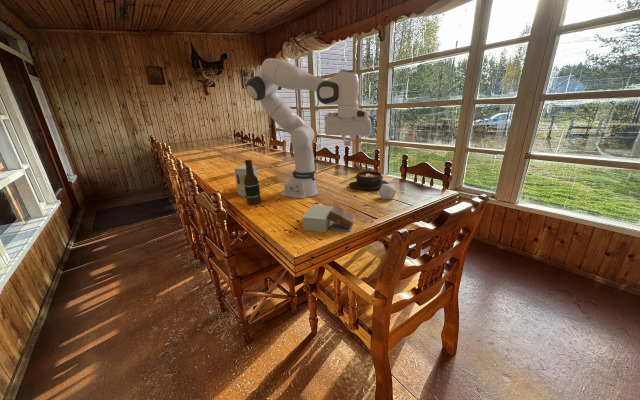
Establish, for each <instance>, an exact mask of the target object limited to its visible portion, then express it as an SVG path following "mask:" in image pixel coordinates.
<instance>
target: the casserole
mask: <svg viewBox="0 0 640 400" xmlns="http://www.w3.org/2000/svg"><path fill="white" fill-rule="evenodd" d="M354 177H355V179H356V181H352V182H349V183H348V185H349V187H351V188H353V189H362V190H375V189H380V188H381V186H382V184H390V183H389V182H388V181H386V180H384V176H383V175H382V173H381V172H378V171H374V170H373V171H371V170H365V171H359V172H358V173H356V176H354Z"/></svg>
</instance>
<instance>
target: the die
mask: <svg viewBox="0 0 640 400" xmlns="http://www.w3.org/2000/svg"><path fill="white" fill-rule="evenodd" d="M396 193H397V189H396V188H395V186H394V185H393V183H389V184H382V186H381V187H380V188H379V190H378V194H379V196H380V197H381V199H382V200H383V201H384V200H387V201H388V200H393V199H394V198H395V195H396Z"/></svg>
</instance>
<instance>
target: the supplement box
mask: <svg viewBox="0 0 640 400" xmlns="http://www.w3.org/2000/svg"><path fill="white" fill-rule="evenodd" d="M252 167H253V172H254V175H255V176H256V177H257V179H258V178H259V177H258V171H257V166H256V165H252ZM234 174H235V175H234V176H235V181H236V183H235V184H236V189H237V196H242V197H246V192H245V186H244V179H245V177H246V164H244V165H243V164H242V165H240V166H238V167H234Z"/></svg>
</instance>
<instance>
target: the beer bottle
mask: <svg viewBox="0 0 640 400" xmlns="http://www.w3.org/2000/svg"><path fill="white" fill-rule="evenodd" d="M244 163H245V165H246V177H245V179H244V186H245V192H246V196H245V197H246V203H247V204H248V205H249V206H256V205H259V204H260V203H261V202H262V197H261V190H260V182H259V180H258V179H257V177H258V176H257V177H256V176H255V175H254V172H253V167H252V166H253V160H252V159H245V160H244Z"/></svg>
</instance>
